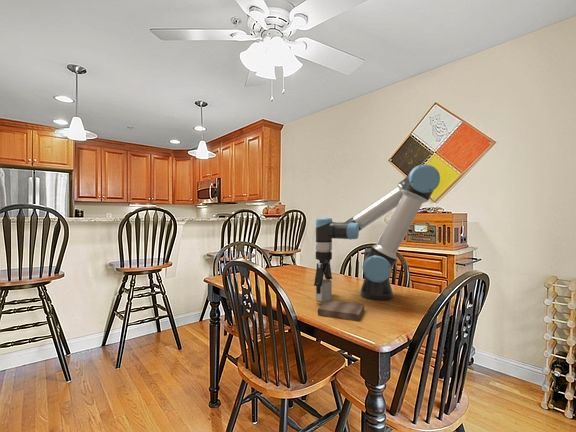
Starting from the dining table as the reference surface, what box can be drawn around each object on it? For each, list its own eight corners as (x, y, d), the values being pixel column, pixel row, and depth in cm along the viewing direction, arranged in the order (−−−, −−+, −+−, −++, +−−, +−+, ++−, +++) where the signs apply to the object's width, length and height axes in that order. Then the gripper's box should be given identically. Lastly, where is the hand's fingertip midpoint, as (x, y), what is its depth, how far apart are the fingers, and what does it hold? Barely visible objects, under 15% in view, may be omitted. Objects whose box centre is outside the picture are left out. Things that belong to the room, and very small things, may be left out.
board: (364, 310, 125) (364, 304, 125) (358, 321, 113) (358, 314, 113) (326, 305, 131) (326, 299, 131) (317, 315, 119) (317, 308, 119)
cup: (315, 302, 136) (316, 282, 136) (315, 296, 146) (315, 277, 146) (332, 302, 135) (332, 283, 135) (330, 296, 145) (330, 278, 145)
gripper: (323, 247, 153) (323, 289, 154) (307, 254, 130) (306, 302, 131) (338, 248, 150) (337, 290, 151) (323, 255, 127) (323, 305, 128)
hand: (323, 296), depth 141 cm, fingers open, 13 cm apart
